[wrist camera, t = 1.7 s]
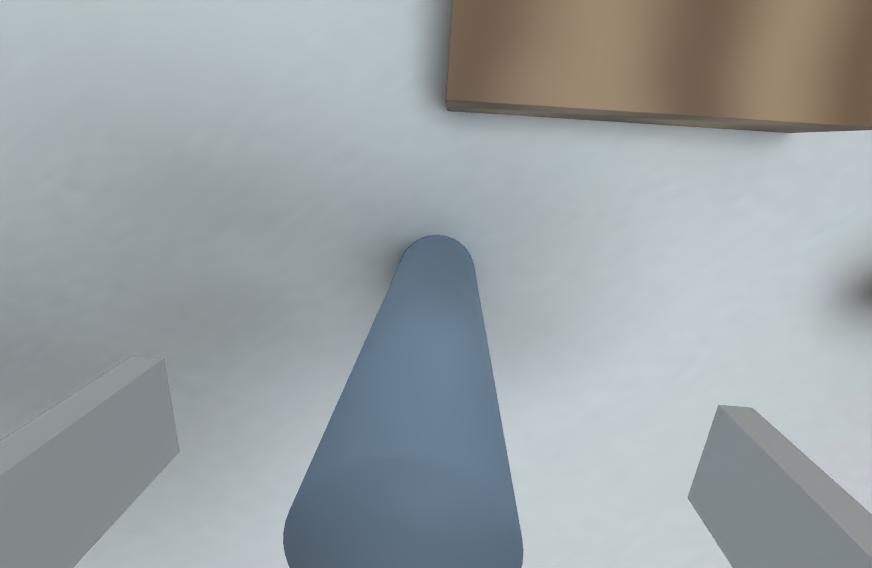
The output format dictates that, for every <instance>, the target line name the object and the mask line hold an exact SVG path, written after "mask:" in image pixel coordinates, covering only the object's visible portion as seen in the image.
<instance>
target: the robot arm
mask: <svg viewBox="0 0 872 568" xmlns="http://www.w3.org/2000/svg"><path fill="white" fill-rule="evenodd" d="M179 452H180V451H179V445H178V440H177V434H176V428H175V422H174V416H173V410H172V404H171V398H170V392H169V386H168V381H167V375H166V369H165V363H164V358H154V357H142V356H132V357H130V358H128V359H127V360H125V361H124V362H122V363H121V364H119V365H118V366H116V367H114V368H113V369H111V370H110V371H108V372H107V373H105V374H103V375H102V376H100V377H99V378H97V379H96V380H94V381H93V382H91V383H89V384H88V385H86V386H85V387H83V388H82V389H80V390H79V391H77V392H75V393H74V394H72V395H71V396H69V397H68V398H66V399H64V400H63V401H61V402H60V403H58V404H57V405H55V406H54V407H52V408H50V409H49V410H47V411H46V412H44V413H43V414H41V415H40V416H38V417H36V418H35V419H33V420H32V421H30V422H29V423H27V424H25V425H24V426H22V427H21V428H19V429H18V430H16V431H15V432H13V433H11V434H10V435H8V436H7V437H5V438H4V439H2V440H1V441H0V568H73V567H74V566H75V565H76V564H77V563H78V562H79V561H80V560H81V558H82V557H83V556H84V555H85V554H86V553H87V552H88V551H89V550H90V549H91V548H92V546H93V545H94V544H95V543H96V542H97V541H98V540H99V539H100V538H101V537H102V536H103V534H104V533H105V532H106V531H107V530H108V529H109V528H110V527H111V526H112V525H113V524H114V522H115V521H116V520H117V519H118V518H119V517H120V516H121V515H122V514H123V513H124V512H125V510H126V509H127V508H128V507H129V506H130V505H131V504H132V503H133V502H134V501H135V500H136V498H137V497H138V496H139V495H140V494H141V493H142V492H143V491H144V490H145V489H146V488H147V486H148V485H149V484H150V483H151V482H152V481H153V480H154V479H155V478H156V477H157V476H158V474H159V473H160V472H161V471H162V470H163V469H164V468H165V467H166V466H167V465H168V464H169V462H170V461H171V460H172V459H173V458H174V457H175V456H176V455H177V454H178V453H179ZM688 499H689V501H690V502H691V504H692V505H693V507H694V509H695V510H696V512H697V513H698V515H699V516H700V518H701V519H702V521H703V522H704V524H705V526H706V527H707V529H708V530H709V532H710V533H711V535H712V536H713V538H714V539H715V541H716V542H717V544H718V546H719V547H720V549H721V550H722V552H723V553H724V555H725V556H726V558H727V559H728V561H729V562H730V564H731V566H732V567H733V568H872V514H871V513H870V512H869V511H867V510H866V509H865V508H864V507H863V506H862V505H861V504H860V503H858V502H857V501H856V500H855V499H854V498H853V497H852V496H851V495H850V494H848V493H847V492H846V491H845V490H844V489H843V488H842V487H841V486H839V485H838V484H837V483H836V482H835V481H834V480H833V479H832V478H830V477H829V476H828V475H827V474H826V473H825V472H824V471H823V470H821V469H820V468H819V467H818V466H817V465H816V464H815V463H814V462H813V461H811V460H810V459H809V458H808V457H807V456H806V455H805V454H804V453H802V452H801V451H800V450H799V449H798V448H797V447H796V446H795V445H793V444H792V443H791V442H790V441H789V440H788V439H787V438H786V437H784V436H783V435H782V434H781V433H780V432H779V431H778V430H777V429H776V428H774V427H773V426H772V425H771V424H770V423H769V422H768V421H767V420H765V419H764V418H763V417H762V416H761V415H760V414H759V413H758V412H756V411H755V410H754V409H753V408H749V407H737V406H725V405H718V408H717V411H716V414H715V417H714V420H713V423H712V426H711V429H710V432H709V435H708V438H707V441H706V444H705V447H704V450H703V453H702V456H701V459H700V462H699V465H698V468H697V471H696V474H695V477H694V480H693V483H692V486H691V489H690V492H689V495H688Z"/></svg>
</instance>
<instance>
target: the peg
mask: <svg viewBox="0 0 872 568" xmlns="http://www.w3.org/2000/svg"><path fill="white" fill-rule="evenodd" d="M283 544H284V550H285V556H286V559H287V562H288V565H289V567H290V568H521V566H522V561H523V543H522V536H521V530H520V524H519V519H518V513H517V507H516V502H515V496H514V490H513V485H512V479H511V473H510V468H509V462H508V456H507V451H506V445H505V439H504V434H503V428H502V422H501V417H500V411H499V405H498V400H497V394H496V388H495V382H494V377H493V371H492V365H491V360H490V354H489V348H488V343H487V337H486V331H485V326H484V320H483V314H482V309H481V303H480V297H479V292H478V286H477V280H476V275H475V269H474V264H473V260H472V258H471V256H470V254H469V252H468V251H467V249H466V248H465V247H464V246H463V245H462V244H460V243H459V242H458V241H456V240H454V239H452V238H450V237H446V236H440V235H433V236H427V237H424V238H421V239H419V240H418V241H416V242H414V243H413V244H412V245H411V246H410V247H409V248H408V249H407V250H406V252H405V253H404V255H403V257H402V260H401V262H400V264H399V266H398V269H397V271H396V273H395V275H394V277H393V280H392V282H391V284H390V286H389V289H388V291H387V293H386V295H385V298H384V300H383V302H382V304H381V307H380V309H379V311H378V313H377V316H376V318H375V320H374V322H373V325H372V327H371V329H370V331H369V334H368V336H367V338H366V340H365V342H364V345H363V347H362V349H361V351H360V354H359V356H358V358H357V360H356V363H355V365H354V367H353V369H352V372H351V374H350V376H349V378H348V381H347V383H346V385H345V387H344V390H343V392H342V394H341V396H340V399H339V401H338V403H337V405H336V407H335V410H334V412H333V414H332V416H331V419H330V421H329V423H328V425H327V428H326V430H325V432H324V434H323V437H322V439H321V441H320V443H319V446H318V448H317V450H316V452H315V455H314V457H313V459H312V461H311V464H310V466H309V468H308V470H307V472H306V475H305V477H304V479H303V481H302V484H301V486H300V488H299V490H298V493H297V495H296V497H295V499H294V502H293V504H292V506H291V508H290V511H289V513H288V516H287V519H286V522H285V527H284V534H283Z"/></svg>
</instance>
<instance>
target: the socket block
mask: <svg viewBox="0 0 872 568" xmlns="http://www.w3.org/2000/svg"><path fill="white" fill-rule="evenodd" d="M446 103H447V110H448V111H460V112H475V113H491V114H506V115H522V116H537V117H552V118H568V119H583V120H599V121H614V122H630V123H645V124H661V125H676V126H692V127H707V128H723V129H738V130H754V131H769V132H784V133H800V132H828V131H855V130H872V0H452V14H451V30H450V45H449V61H448V76H447V92H446Z"/></svg>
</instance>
